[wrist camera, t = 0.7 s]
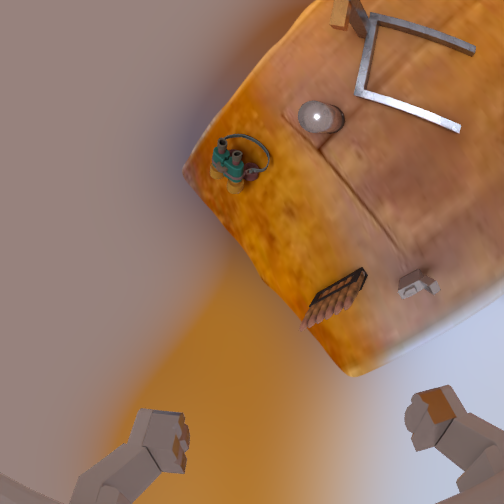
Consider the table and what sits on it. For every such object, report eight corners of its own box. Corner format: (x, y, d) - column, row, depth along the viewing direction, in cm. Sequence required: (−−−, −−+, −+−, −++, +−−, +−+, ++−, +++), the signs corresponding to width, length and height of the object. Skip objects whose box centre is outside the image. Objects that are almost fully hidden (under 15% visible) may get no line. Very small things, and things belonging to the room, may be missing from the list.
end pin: (320, 102, 43) (301, 96, 36) (347, 109, 41) (333, 104, 34) (314, 128, 45) (294, 128, 38) (341, 136, 44) (326, 137, 37)
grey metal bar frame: (362, 15, 33) (338, -30, 21) (472, 50, 27) (497, 16, 14) (346, 93, 40) (316, 76, 28) (456, 133, 34) (479, 132, 21)
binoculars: (236, 143, 55) (198, 172, 52) (242, 109, 47) (197, 137, 43) (274, 172, 54) (236, 204, 51) (285, 139, 46) (242, 173, 42)
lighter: (403, 287, 47) (400, 311, 41) (399, 279, 47) (395, 303, 41) (438, 268, 43) (441, 292, 37) (434, 260, 43) (436, 282, 37)
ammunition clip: (322, 300, 56) (299, 337, 47) (316, 293, 56) (292, 328, 47) (368, 275, 50) (354, 311, 40) (362, 266, 50) (346, 301, 40)
